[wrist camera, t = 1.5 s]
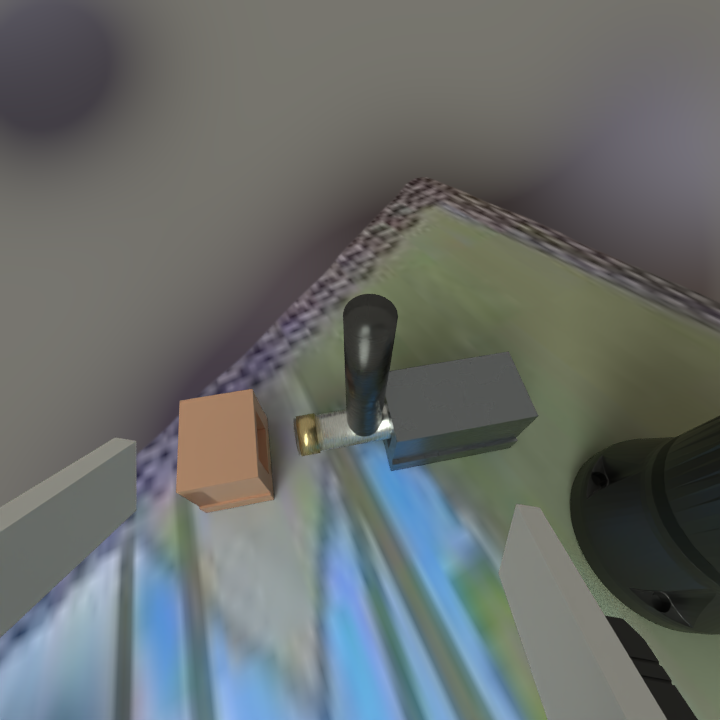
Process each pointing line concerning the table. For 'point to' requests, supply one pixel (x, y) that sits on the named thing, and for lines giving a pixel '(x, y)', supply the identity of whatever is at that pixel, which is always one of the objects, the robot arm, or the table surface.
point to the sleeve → (455, 410)
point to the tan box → (224, 451)
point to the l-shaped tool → (357, 381)
